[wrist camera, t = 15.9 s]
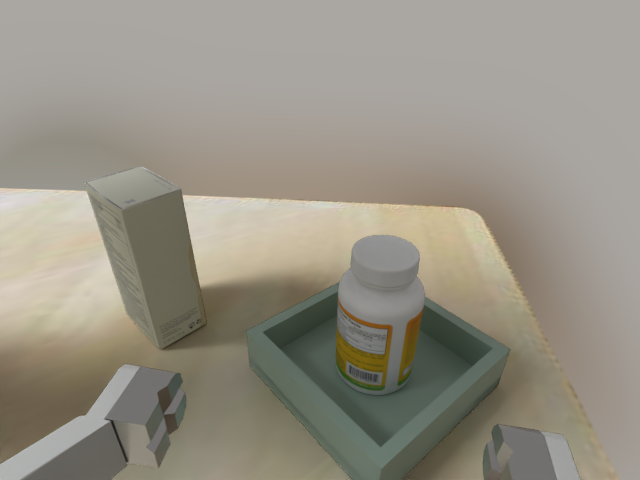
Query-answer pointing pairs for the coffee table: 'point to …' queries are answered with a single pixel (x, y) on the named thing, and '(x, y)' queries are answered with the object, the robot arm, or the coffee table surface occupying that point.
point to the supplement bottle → (379, 315)
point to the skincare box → (149, 252)
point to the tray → (375, 410)
